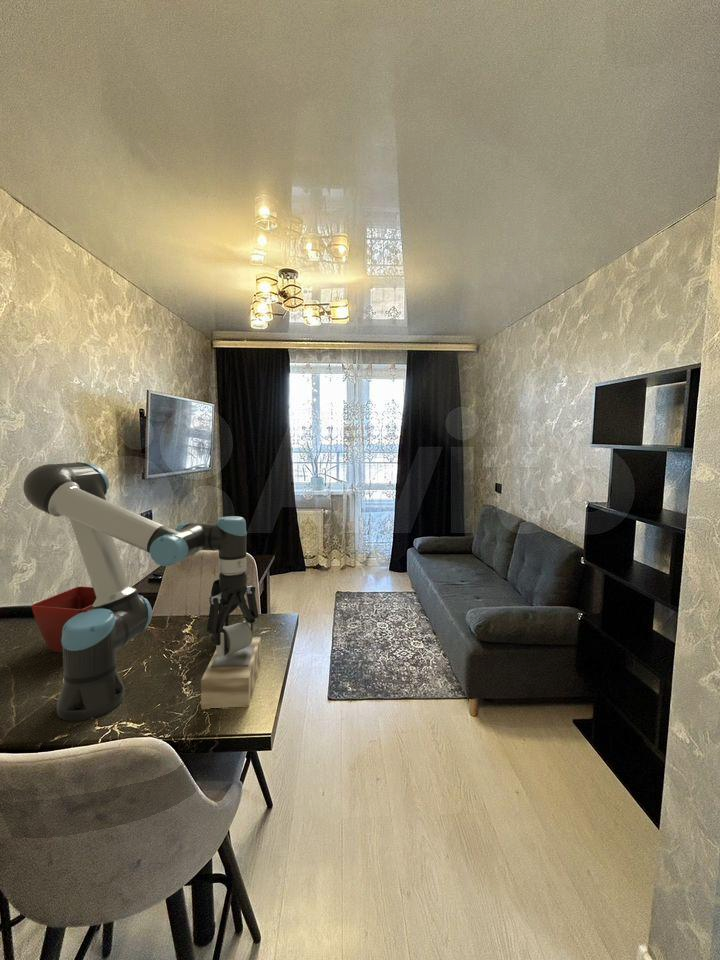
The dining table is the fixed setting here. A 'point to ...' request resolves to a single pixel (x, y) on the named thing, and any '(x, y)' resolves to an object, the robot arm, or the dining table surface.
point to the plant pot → (61, 613)
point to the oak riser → (231, 678)
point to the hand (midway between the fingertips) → (234, 649)
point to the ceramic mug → (236, 637)
